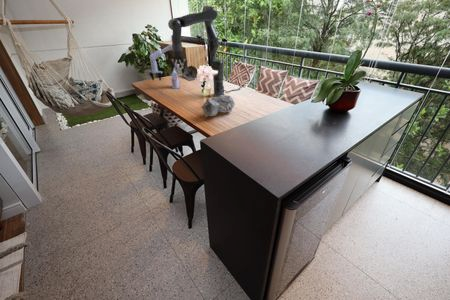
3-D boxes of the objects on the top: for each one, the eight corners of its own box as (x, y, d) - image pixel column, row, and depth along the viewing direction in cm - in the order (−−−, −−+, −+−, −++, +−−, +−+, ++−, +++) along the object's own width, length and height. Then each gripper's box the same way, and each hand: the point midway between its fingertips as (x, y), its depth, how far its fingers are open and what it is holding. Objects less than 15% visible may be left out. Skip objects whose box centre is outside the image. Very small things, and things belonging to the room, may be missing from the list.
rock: (218, 115, 147) (243, 104, 163) (206, 95, 147) (232, 87, 164) (208, 125, 160) (232, 114, 177) (197, 107, 161) (222, 98, 177)
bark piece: (202, 74, 255) (191, 66, 272) (199, 69, 248) (187, 61, 265) (192, 85, 255) (181, 76, 272) (188, 81, 249) (177, 72, 266)
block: (176, 74, 163) (176, 68, 161) (178, 72, 167) (177, 67, 165) (182, 74, 163) (181, 69, 161) (183, 72, 167) (183, 67, 165)
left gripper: (145, 67, 207) (148, 81, 215) (159, 67, 206) (161, 81, 213) (148, 66, 213) (151, 79, 221) (162, 66, 212) (164, 79, 219)
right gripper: (166, 50, 153) (170, 73, 163) (185, 50, 152) (187, 74, 161) (170, 48, 159) (173, 71, 169) (187, 49, 158) (190, 72, 167)
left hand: (156, 80), depth 217 cm, fingers open, 7 cm apart
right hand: (180, 72), depth 165 cm, fingers closed on block, 4 cm apart
